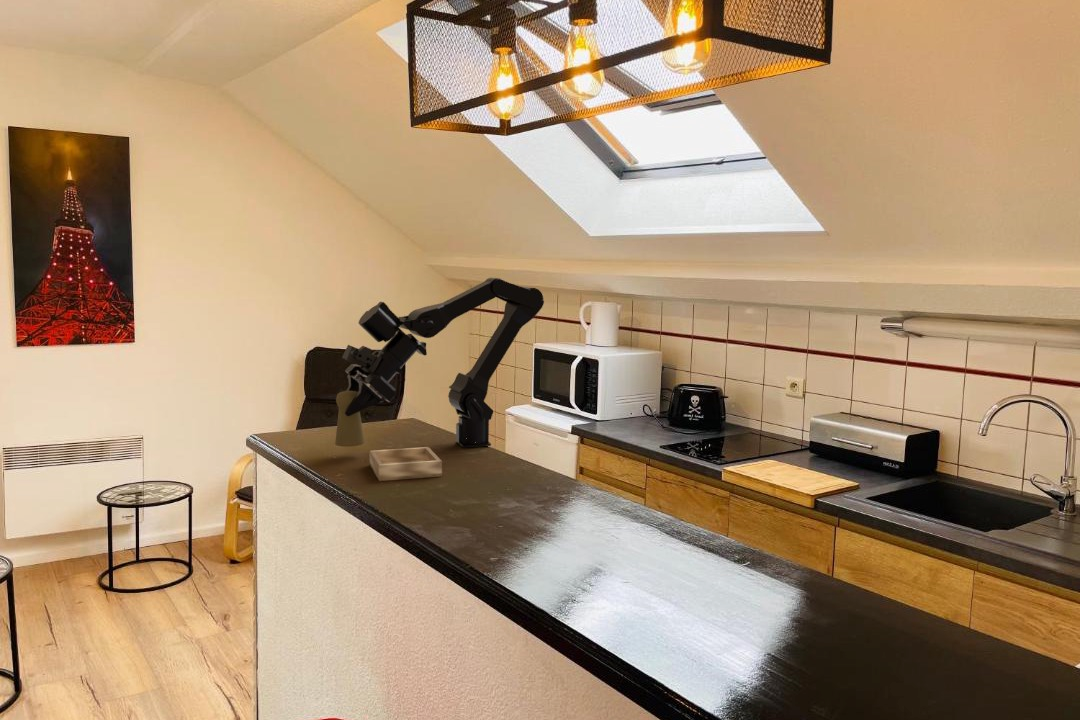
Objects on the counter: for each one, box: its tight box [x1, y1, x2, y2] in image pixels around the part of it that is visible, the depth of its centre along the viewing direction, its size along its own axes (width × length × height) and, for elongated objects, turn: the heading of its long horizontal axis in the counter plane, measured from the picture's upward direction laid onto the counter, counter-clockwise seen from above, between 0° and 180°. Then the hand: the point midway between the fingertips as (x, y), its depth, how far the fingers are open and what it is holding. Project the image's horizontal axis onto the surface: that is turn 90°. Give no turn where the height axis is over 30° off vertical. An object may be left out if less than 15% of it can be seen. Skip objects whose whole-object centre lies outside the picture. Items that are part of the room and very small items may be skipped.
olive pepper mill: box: [334, 390, 366, 448], centre depth 175 cm, size 6×6×11 cm
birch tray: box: [369, 446, 443, 482], centre depth 166 cm, size 12×12×3 cm
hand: (342, 412), depth 174 cm, fingers closed on olive pepper mill, 5 cm apart
